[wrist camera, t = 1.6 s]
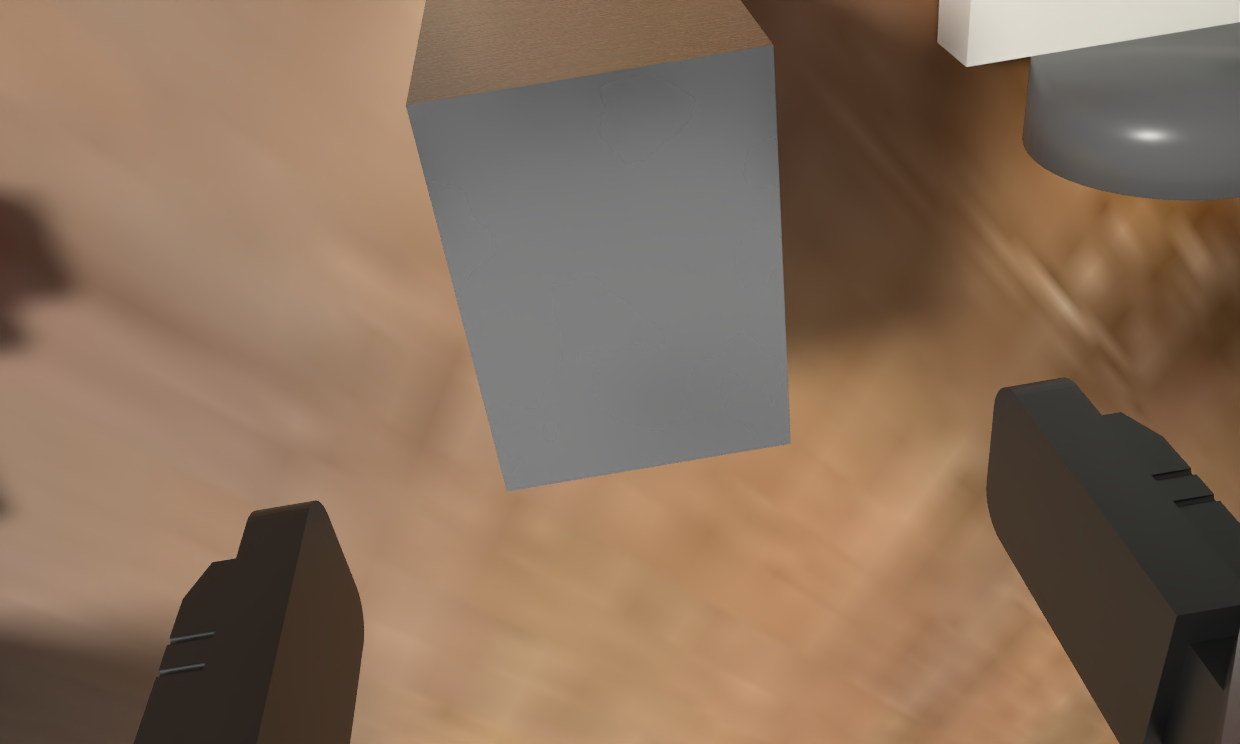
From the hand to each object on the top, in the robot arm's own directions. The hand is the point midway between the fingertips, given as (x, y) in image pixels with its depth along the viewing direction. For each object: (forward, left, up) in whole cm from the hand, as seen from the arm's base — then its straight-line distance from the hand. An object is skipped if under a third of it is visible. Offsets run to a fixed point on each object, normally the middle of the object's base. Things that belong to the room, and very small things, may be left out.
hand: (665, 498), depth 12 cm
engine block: (0, 0, -10) cm, 10 cm away
